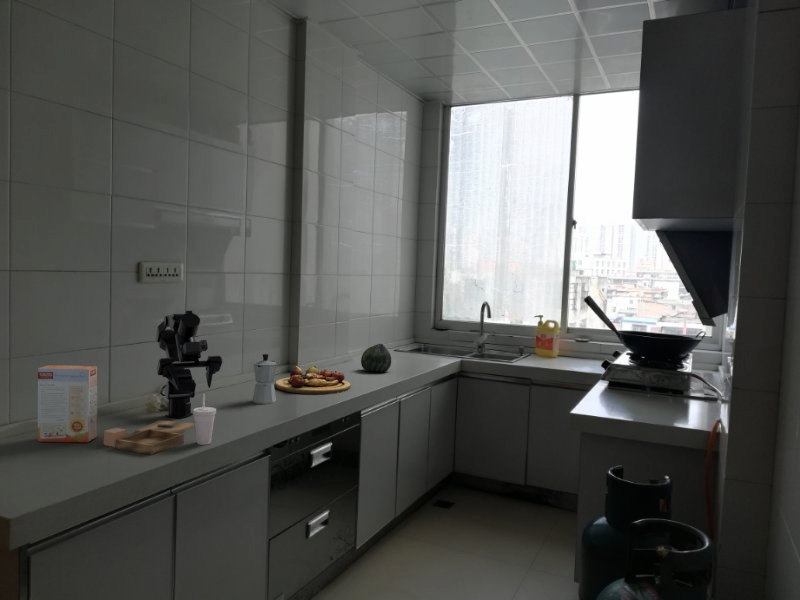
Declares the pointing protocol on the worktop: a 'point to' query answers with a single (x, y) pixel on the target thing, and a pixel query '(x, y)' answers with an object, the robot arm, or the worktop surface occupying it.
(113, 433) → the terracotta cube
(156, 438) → the wooden tray
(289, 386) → the wooden plate with food
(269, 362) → the coffee maker
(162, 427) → the lid
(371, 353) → the squash
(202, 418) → the smoothie
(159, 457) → the worktop surface
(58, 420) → the cracker box
